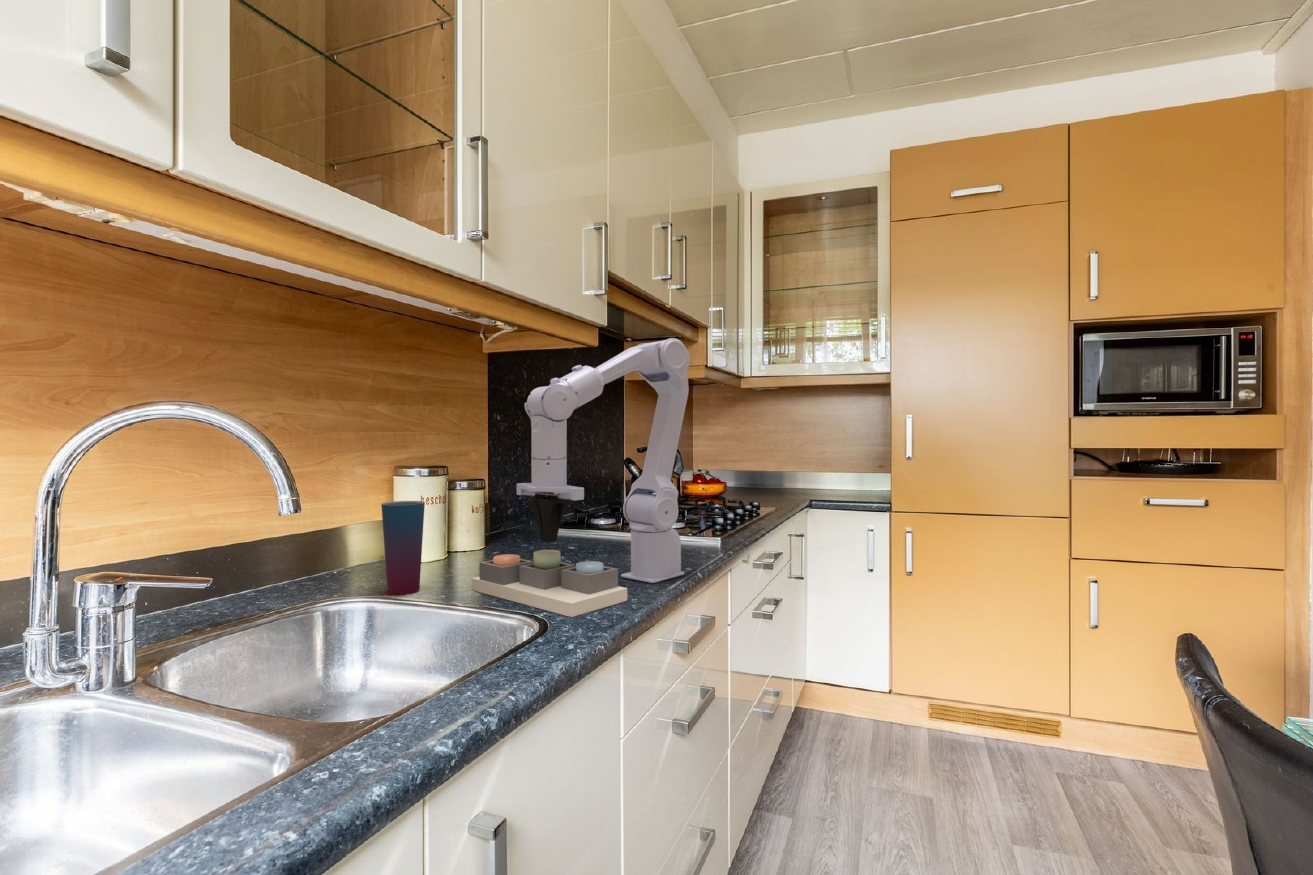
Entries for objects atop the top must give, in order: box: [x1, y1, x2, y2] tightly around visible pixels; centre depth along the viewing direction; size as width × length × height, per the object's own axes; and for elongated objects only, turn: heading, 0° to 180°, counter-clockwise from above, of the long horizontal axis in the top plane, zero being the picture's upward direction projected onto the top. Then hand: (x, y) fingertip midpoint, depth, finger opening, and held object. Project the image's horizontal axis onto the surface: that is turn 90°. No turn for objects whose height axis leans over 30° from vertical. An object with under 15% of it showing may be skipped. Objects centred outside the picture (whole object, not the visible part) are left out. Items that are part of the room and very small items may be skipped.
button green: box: [532, 549, 561, 570], centre depth 106 cm, size 4×4×2 cm
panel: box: [471, 558, 628, 618], centre depth 106 cm, size 12×25×5 cm, turn 50°
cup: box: [381, 500, 426, 596], centre depth 109 cm, size 7×7×15 cm
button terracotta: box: [492, 553, 521, 567], centre depth 109 cm, size 4×4×2 cm
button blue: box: [575, 560, 604, 574], centre depth 103 cm, size 4×4×2 cm
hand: (549, 541), depth 106 cm, fingers closed
